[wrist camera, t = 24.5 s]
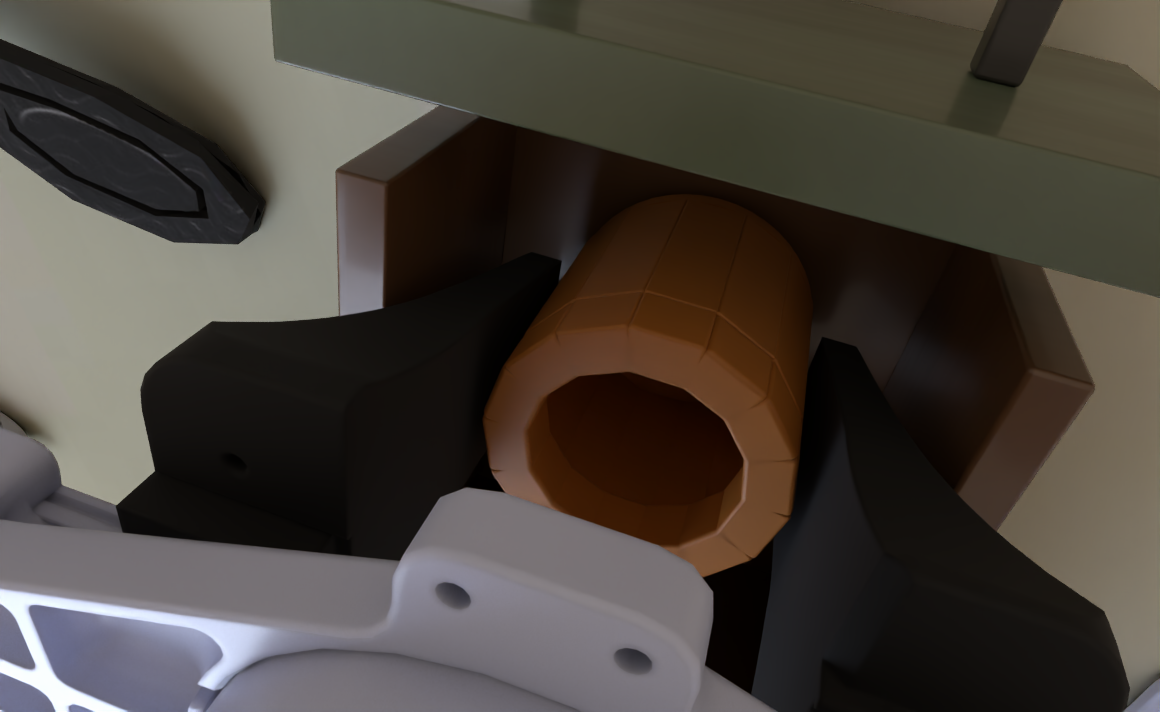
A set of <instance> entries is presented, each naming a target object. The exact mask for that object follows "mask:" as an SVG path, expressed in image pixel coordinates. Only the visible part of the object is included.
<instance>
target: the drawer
mask: <svg viewBox="0 0 1160 712" xmlns="http://www.w3.org/2000/svg"><path fill="white" fill-rule="evenodd" d="M270 1H271V16H272V31H273V46H274V58H275V61H277V62H280V63H284V64H287V65H291V66H295V67H299V68H302V69H306V70H310V71H313V72H317V73H321V74H325V75H328V76H332V77H336V78H340V79H343V80H347V81H351V82H355V83H358V84H362V85H366V86H370V87H373V88H377V89H381V90H384V91H388V92H392V93H396V94H399V95H403V96H407V97H411V98H414V99H418V100H422V101H426V102H429V103H433V104H437V105H440V106H438V107H436V108H435V109H433V110H432V111H430V112H428V113H427V114H425V115H423V116H422V117H420V118H419V119H417V120H415V121H414V122H412V123H410V124H409V125H407V126H406V127H404V128H402V129H401V130H399V131H397V132H396V133H394V134H393V135H391V136H389V137H388V138H386V139H384V140H383V141H381V142H380V143H378V144H376V145H375V146H373V147H371V148H370V149H368V150H367V151H365V152H363V153H362V154H360V155H358V156H357V157H355V158H354V159H352V160H350V161H349V162H347V163H345V164H344V165H342V166H341V167H339V168H337V170H336V211H337V253H338V296H339V316H342V315H348V314H354V313H360V312H366V311H372V310H377V309H381V308H385V307H389V306H393V305H397V304H401V303H405V302H408V301H412V300H415V299H418V298H421V297H424V296H427V295H430V294H433V293H435V292H438V291H441V290H443V289H446V288H449V287H451V286H454V285H457V284H459V283H462V282H464V281H467V280H469V279H471V278H474V277H476V276H478V275H480V274H483V273H485V272H487V271H489V270H492V269H494V268H496V267H498V266H500V265H503V264H505V263H507V262H509V261H511V260H513V259H515V258H518V257H520V256H522V255H525V254H527V253H530V252H534V253H537V254H541V255H544V256H548V257H551V258H554V259H558V260H561V261H562V263H561V269H560V275H559V281H558V284H559V282H560V281H561V279H562V278H563V276H564V275H565V273H566V272H567V270H568V269H569V268H570V266H571V265H572V263H573V262H574V260H575V259H576V257H577V256H578V254H579V253H580V251H581V250H582V248H583V247H584V245H585V244H586V243H587V241H588V240H589V239H590V238H591V237H592V236H593V235H595V234H596V233H597V232H598V231H599V230H600V228H601V227H602V226H603V225H604V224H606V223H607V222H608V221H609V220H610V219H611V218H612V217H614V216H615V215H617V214H618V213H620V212H621V211H623V210H624V209H626V208H628V207H630V206H633V205H635V204H637V203H639V202H642V201H645V200H648V199H651V198H655V197H661V196H666V195H677V194H692V195H704V196H709V197H714V198H719V199H722V200H725V201H728V202H731V203H734V204H737V205H739V206H741V207H743V208H745V209H747V210H749V211H751V212H753V213H754V214H756V215H757V216H759V217H760V218H762V219H764V220H765V221H766V222H768V223H769V224H770V225H771V226H772V227H773V228H775V229H776V230H777V231H778V232H779V233H780V234H781V235H782V236H783V237H784V239H785V240H786V241H787V242H788V243H789V244H790V246H791V247H792V249H793V250H794V252H795V253H796V254H797V256H798V258H799V260H800V262H801V264H802V266H803V268H804V270H805V272H806V276H807V279H808V282H809V285H810V291H811V297H812V301H813V316H812V327H811V338H810V349H809V360H808V369H809V367H810V365H811V362H812V360H813V357H814V355H815V353H816V350H817V348H818V345H819V343H820V341H821V338H822V337H826V338H829V339H832V340H836V341H839V342H843V343H846V344H850V345H853V346H856V347H857V348H858V350H859V352H860V353H861V355H862V357H863V359H864V361H865V363H866V364H867V366H868V368H869V370H870V372H871V374H872V375H873V377H874V379H875V381H876V383H877V384H878V386H879V388H880V390H881V391H882V393H883V395H884V397H885V398H886V400H887V402H888V403H889V405H890V407H891V408H892V410H893V411H894V413H895V415H896V416H897V418H898V419H899V421H900V422H901V424H902V425H903V427H904V428H905V430H906V431H907V433H908V434H909V435H910V437H911V438H912V440H913V441H914V442H915V444H916V445H917V447H918V448H919V449H920V451H921V452H922V453H923V455H924V456H925V457H926V458H927V460H928V461H929V462H930V463H931V465H932V466H933V467H934V468H935V469H936V471H937V472H938V473H939V474H940V475H941V476H942V477H943V479H944V480H945V481H946V482H947V483H948V484H949V485H950V487H951V488H952V489H953V490H954V491H955V492H956V493H957V494H958V495H959V496H960V497H961V498H962V499H963V500H964V501H965V502H966V503H967V504H968V505H969V506H970V507H971V508H972V509H973V510H974V511H975V512H976V513H977V514H978V515H979V516H980V517H981V518H982V519H983V520H985V521H986V522H987V523H988V524H989V525H990V526H991V527H992V528H993V529H994V530H995V531H997V530H998V528H999V527H1000V525H1001V524H1002V522H1003V521H1004V520H1005V518H1006V517H1007V515H1008V514H1009V512H1010V511H1011V510H1012V508H1013V507H1014V505H1015V504H1016V502H1017V501H1018V500H1019V498H1020V497H1021V495H1022V494H1023V492H1024V491H1025V490H1026V488H1027V487H1028V485H1029V484H1030V482H1031V481H1032V480H1033V478H1034V477H1035V475H1036V474H1037V472H1038V471H1039V470H1040V468H1041V467H1042V465H1043V464H1044V462H1045V461H1046V460H1047V458H1048V457H1049V455H1050V454H1051V452H1052V451H1053V450H1054V448H1055V447H1056V445H1057V444H1058V442H1059V441H1060V440H1061V438H1062V437H1063V435H1064V434H1065V432H1066V431H1067V430H1068V428H1069V427H1070V425H1071V424H1072V422H1073V421H1074V420H1075V418H1076V417H1077V415H1078V414H1079V412H1080V411H1081V410H1082V408H1083V407H1084V405H1085V404H1086V402H1087V401H1088V400H1089V398H1090V397H1091V395H1092V394H1093V392H1094V390H1095V384H1094V381H1093V379H1092V377H1091V375H1090V372H1089V370H1088V368H1087V366H1086V364H1085V361H1084V359H1083V357H1082V355H1081V352H1080V350H1079V348H1078V346H1077V343H1076V341H1075V339H1074V337H1073V335H1072V332H1071V330H1070V328H1069V326H1068V323H1067V321H1066V319H1065V317H1064V314H1063V312H1062V310H1061V308H1060V305H1059V303H1058V301H1057V299H1056V297H1055V294H1054V292H1053V290H1052V288H1051V285H1050V283H1049V281H1048V279H1047V276H1046V274H1045V272H1044V270H1043V268H1042V267H1046V268H1049V269H1053V270H1057V271H1061V272H1064V273H1068V274H1072V275H1076V276H1079V277H1083V278H1087V279H1091V280H1094V281H1098V282H1102V283H1106V284H1109V285H1113V286H1117V287H1120V288H1124V289H1128V290H1132V291H1135V292H1139V293H1143V294H1147V295H1150V296H1154V297H1158V298H1160V91H1159V90H1158V89H1157V88H1156V87H1154V86H1153V85H1152V84H1151V83H1149V82H1148V81H1147V80H1146V79H1144V78H1143V77H1142V76H1141V75H1139V74H1138V73H1137V72H1135V71H1134V70H1133V69H1132V68H1130V67H1129V66H1128V65H1126V64H1122V63H1117V62H1113V61H1109V60H1104V59H1100V58H1095V57H1091V56H1087V55H1082V54H1078V53H1073V52H1069V51H1065V50H1060V49H1056V48H1052V47H1047V46H1043V45H1041V44H1042V42H1043V40H1044V38H1045V36H1046V34H1047V32H1048V29H1049V27H1050V25H1051V23H1052V21H1053V19H1054V17H1055V15H1056V13H1057V11H1058V9H1059V7H1060V5H1061V3H1062V1H1063V0H998V2H997V4H996V6H995V9H994V11H993V13H992V15H991V18H990V20H989V22H988V24H987V27H986V29H985V31H984V32H981V31H977V30H973V29H968V28H964V27H959V26H955V25H951V24H946V23H942V22H937V21H933V20H929V19H924V18H920V17H916V16H911V15H907V14H902V13H898V12H894V11H889V10H885V9H880V8H876V7H872V6H867V5H863V4H858V3H854V2H850V1H845V0H270ZM466 487H467V488H474V489H481V490H489V491H496V492H503V493H505V492H504V490H503V489H502V487H501V486H500V484H499V483H498V481H497V480H496V478H495V477H494V475H493V474H492V469H491V468H490V466H489V460H488V454H487V451H486V452H485V454H484V455H483V456H482V458H481V459H480V461H479V462H478V464H477V465H476V467H475V468H474V470H473V472H472V473H471V475H470V477H469V478H468V480H467V482H466V483H465V485H464V487H463V488H466ZM773 540H774V538H773V539H772V540H771V541H770V542H769V543H768V544H767V546H766V547H765V548H764V549H763V550H762V551H761V552H760V553H759V554H758V556H757V557H755V558H752V559H751V560H750V561H747V562H745V563H742V564H739V565H736V566H733V567H731V568H728V569H725V570H722V571H720V572H717V573H714V574H711V575H709V576H706V577H703V579H704V580H705V582H706V583H707V584H708V586H709V587H710V589H711V590H712V591H713V623H712V628H711V634H710V639H709V645H708V650H707V655H706V661H705V666H707V667H708V668H710V669H711V670H713V671H714V672H716V673H718V674H719V675H721V676H722V677H724V678H725V679H727V680H729V681H730V682H732V683H733V684H735V685H736V686H738V687H740V688H741V689H743V690H744V691H746V692H747V693H749V694H751V693H752V688H753V683H754V677H755V672H756V666H757V661H758V655H759V650H760V644H761V639H762V633H763V627H764V621H765V615H766V610H767V604H768V598H769V592H770V584H771V574H772V561H773Z"/></svg>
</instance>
